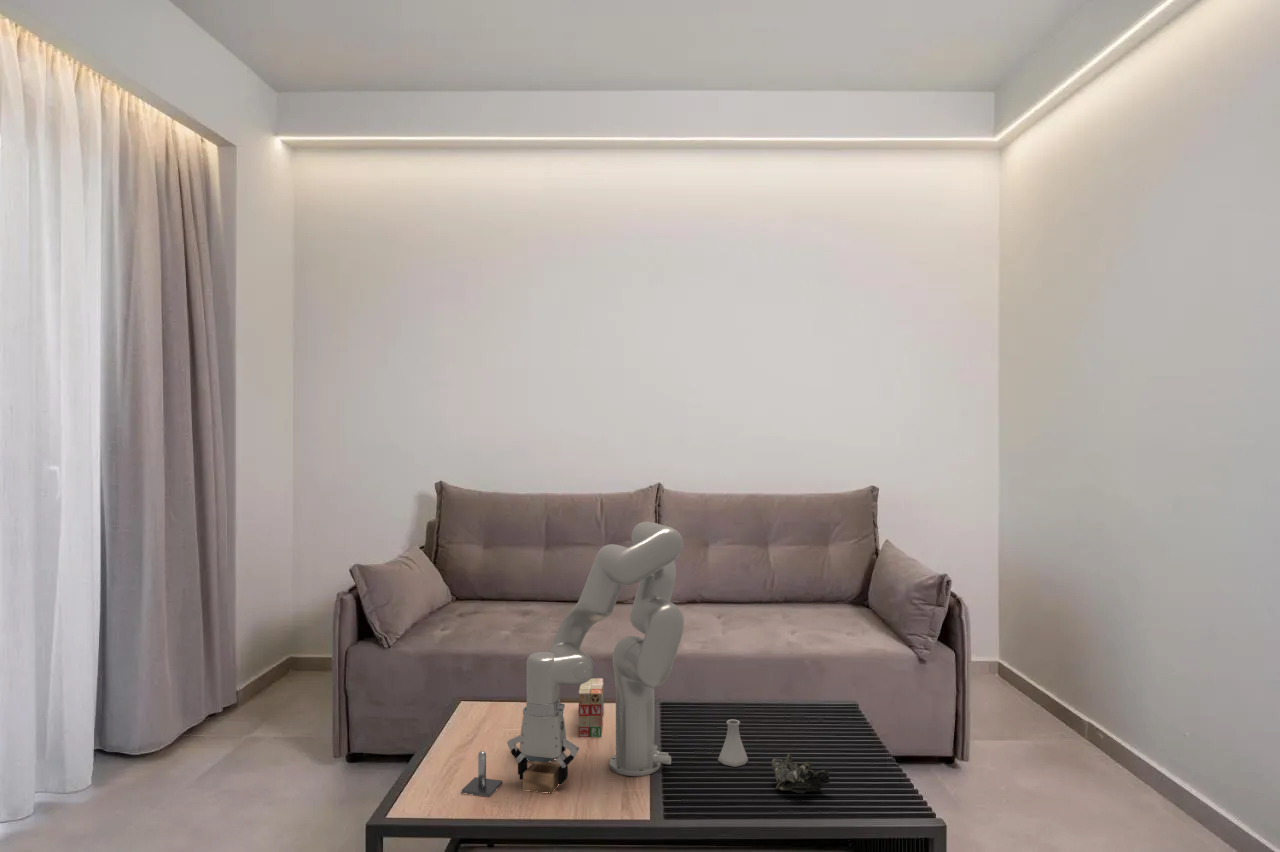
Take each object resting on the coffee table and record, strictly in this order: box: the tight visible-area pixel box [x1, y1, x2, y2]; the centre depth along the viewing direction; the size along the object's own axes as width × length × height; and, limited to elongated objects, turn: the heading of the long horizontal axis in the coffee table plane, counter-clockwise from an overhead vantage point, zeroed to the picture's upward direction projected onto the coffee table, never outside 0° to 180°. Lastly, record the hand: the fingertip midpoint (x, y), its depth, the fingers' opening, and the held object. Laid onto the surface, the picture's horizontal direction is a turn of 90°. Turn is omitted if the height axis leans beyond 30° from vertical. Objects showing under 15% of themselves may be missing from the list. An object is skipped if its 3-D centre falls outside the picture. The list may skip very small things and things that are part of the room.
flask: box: [717, 719, 749, 768], centre depth 210 cm, size 7×7×10 cm
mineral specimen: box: [771, 752, 831, 794], centre depth 195 cm, size 15×13×10 cm
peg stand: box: [461, 750, 503, 798], centre depth 194 cm, size 7×7×9 cm
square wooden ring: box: [522, 761, 560, 794], centre depth 196 cm, size 7×7×4 cm
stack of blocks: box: [578, 677, 605, 738], centre depth 235 cm, size 21×6×12 cm, turn 1°
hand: (542, 779), depth 196 cm, fingers open, 9 cm apart
